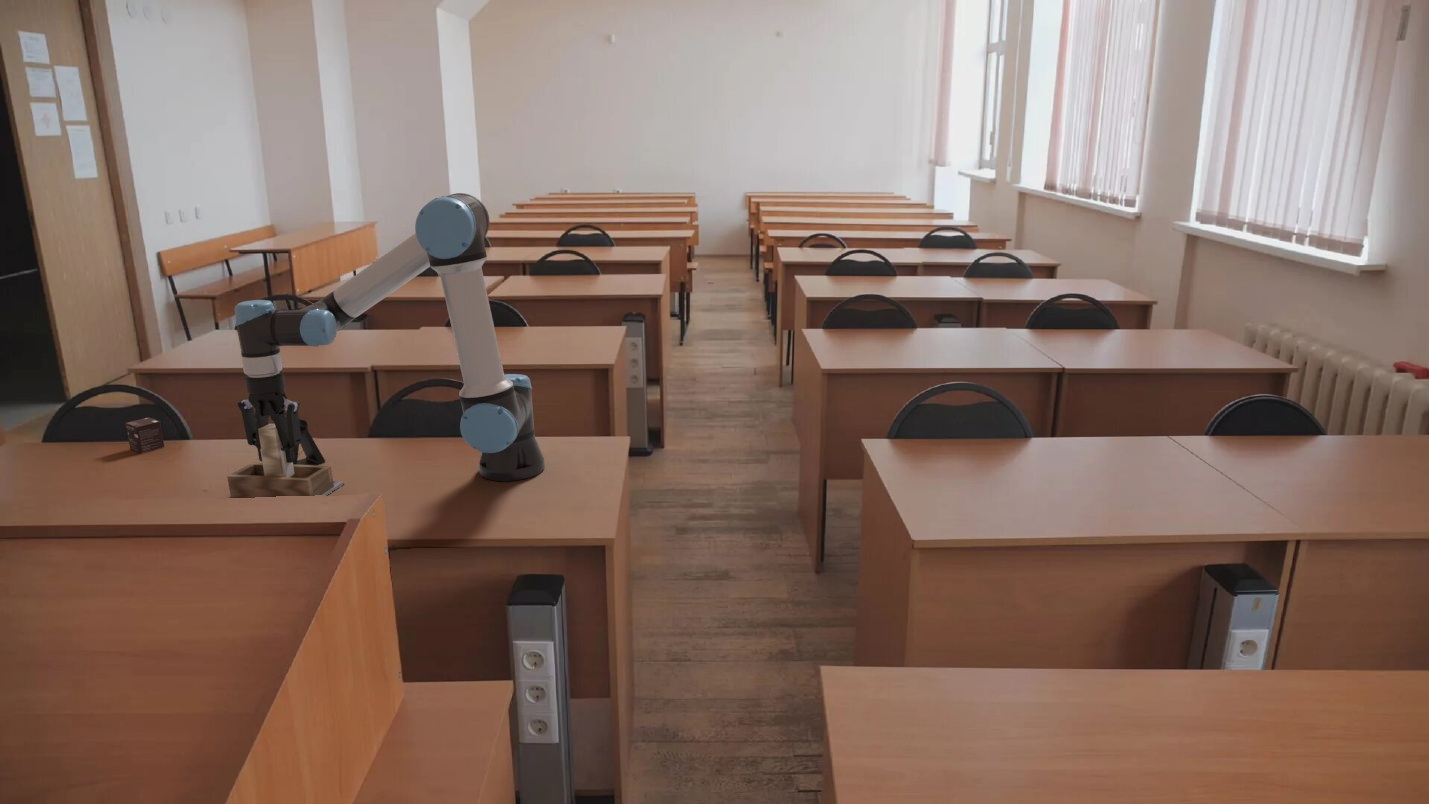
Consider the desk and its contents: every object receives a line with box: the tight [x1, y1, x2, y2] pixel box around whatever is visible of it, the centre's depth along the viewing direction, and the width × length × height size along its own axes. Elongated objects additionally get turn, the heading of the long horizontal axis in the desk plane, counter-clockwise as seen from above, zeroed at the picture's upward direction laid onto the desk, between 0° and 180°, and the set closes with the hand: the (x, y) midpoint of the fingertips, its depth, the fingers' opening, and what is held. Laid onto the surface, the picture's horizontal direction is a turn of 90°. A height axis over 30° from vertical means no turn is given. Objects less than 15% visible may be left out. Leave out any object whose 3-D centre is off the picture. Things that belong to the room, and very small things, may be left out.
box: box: [124, 416, 165, 454], centre depth 242 cm, size 6×6×7 cm
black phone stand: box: [285, 416, 326, 466], centre depth 227 cm, size 9×6×12 cm, turn 138°
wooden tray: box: [226, 462, 345, 498], centre depth 208 cm, size 20×16×6 cm
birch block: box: [258, 422, 294, 477], centre depth 206 cm, size 4×4×12 cm
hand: (279, 475), depth 208 cm, fingers closed on birch block, 4 cm apart
